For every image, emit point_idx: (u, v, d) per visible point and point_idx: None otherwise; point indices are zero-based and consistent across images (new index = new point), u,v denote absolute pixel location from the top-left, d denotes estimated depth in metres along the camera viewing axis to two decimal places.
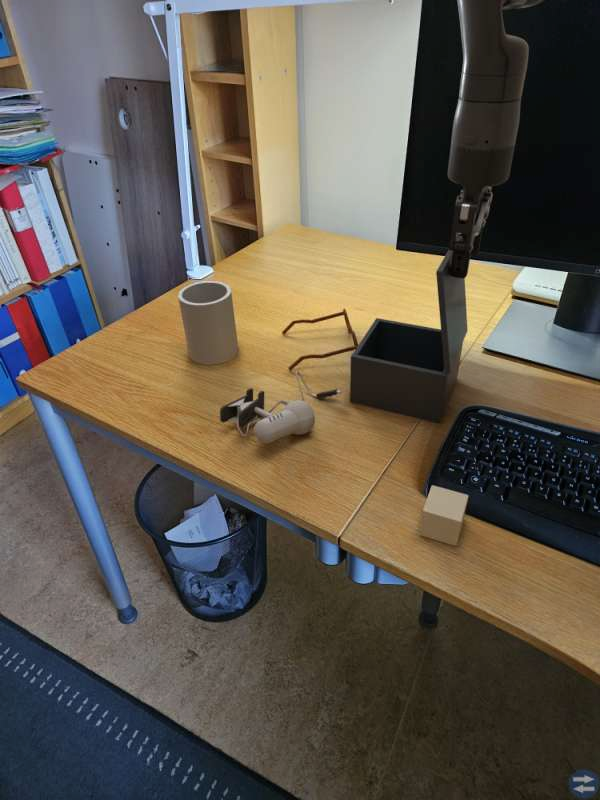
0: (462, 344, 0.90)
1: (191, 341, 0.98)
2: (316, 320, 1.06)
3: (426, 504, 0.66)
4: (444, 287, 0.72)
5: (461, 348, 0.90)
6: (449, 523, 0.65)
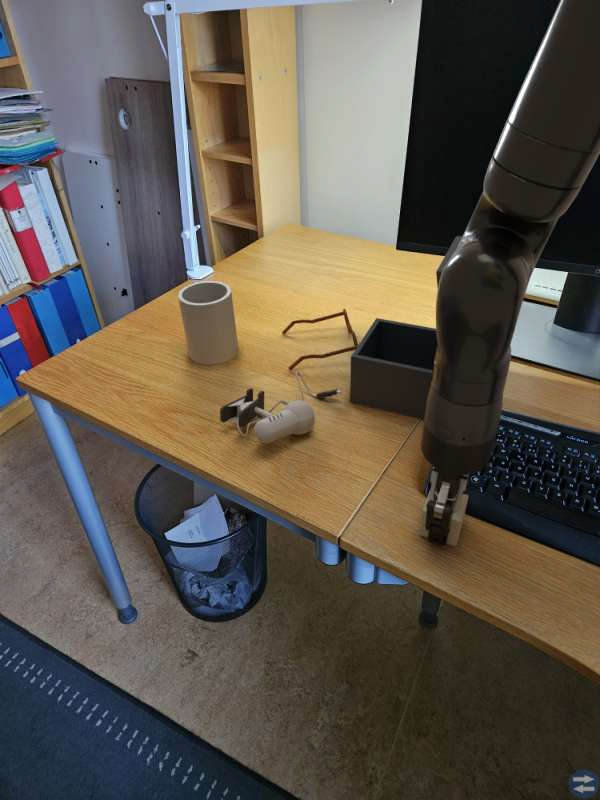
0: None
1: (191, 341, 0.98)
2: (316, 320, 1.06)
3: (426, 504, 0.66)
4: None
5: None
6: None
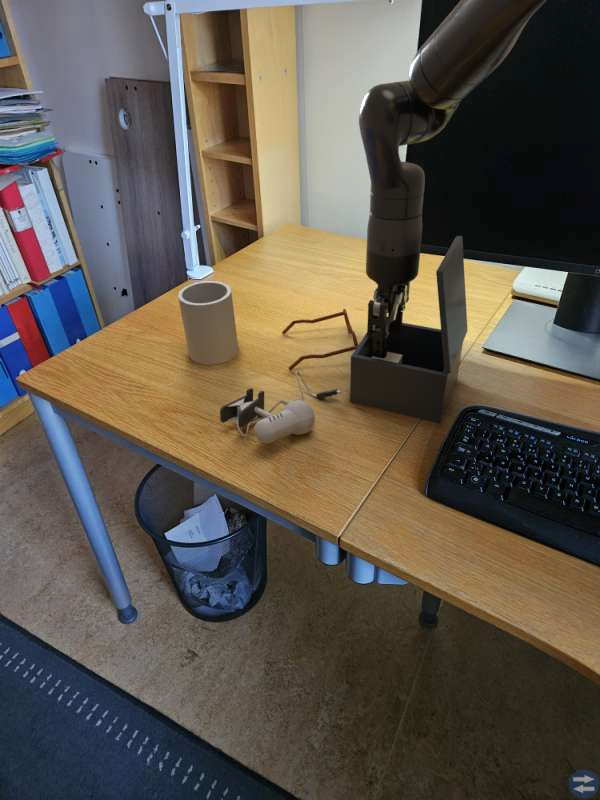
0: (462, 344, 0.90)
1: (191, 341, 0.98)
2: (316, 320, 1.06)
3: None
4: (444, 287, 0.72)
5: (461, 348, 0.90)
6: None
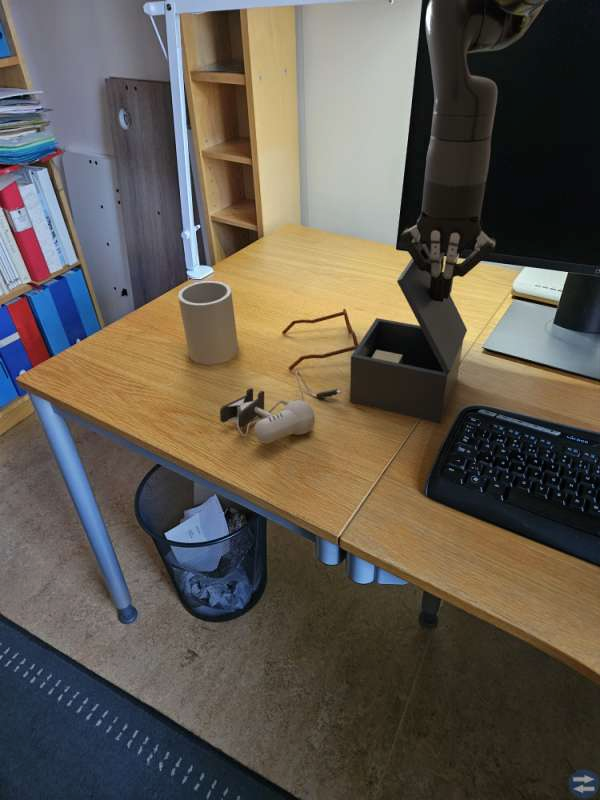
0: (462, 344, 0.90)
1: (191, 341, 0.98)
2: (316, 320, 1.06)
3: None
4: (410, 293, 0.75)
5: (461, 348, 0.90)
6: None
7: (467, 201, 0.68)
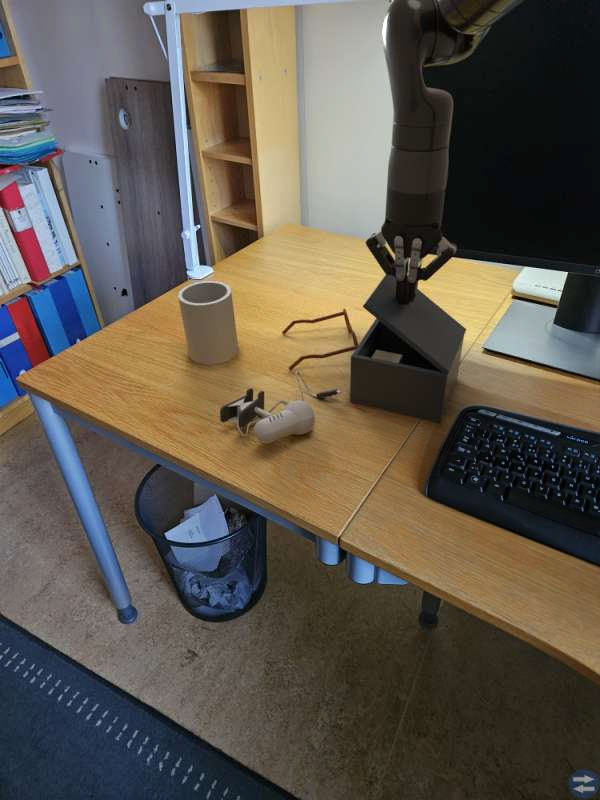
0: (462, 344, 0.90)
1: (191, 341, 0.98)
2: (316, 320, 1.06)
3: None
4: (379, 312, 0.79)
5: (461, 348, 0.90)
6: None
7: (426, 209, 0.71)
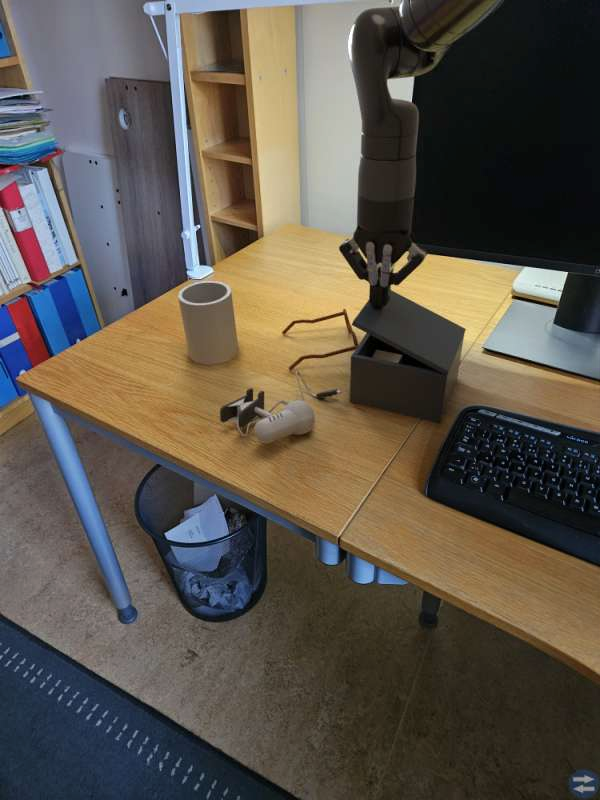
0: (462, 344, 0.90)
1: (191, 341, 0.98)
2: (316, 320, 1.06)
3: None
4: (368, 327, 0.81)
5: (461, 348, 0.90)
6: None
7: (395, 216, 0.73)
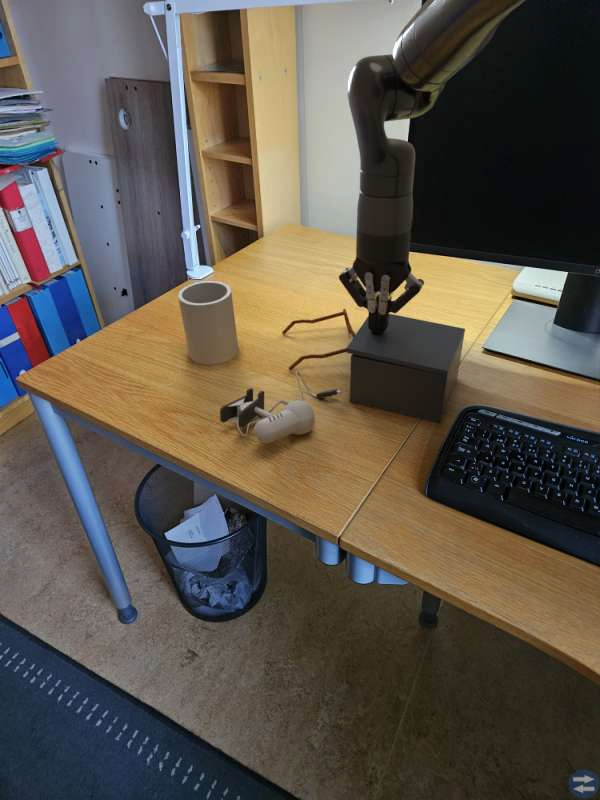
0: (462, 344, 0.90)
1: (191, 341, 0.98)
2: (316, 320, 1.06)
3: None
4: (361, 350, 0.84)
5: (461, 348, 0.90)
6: None
7: (393, 249, 0.76)
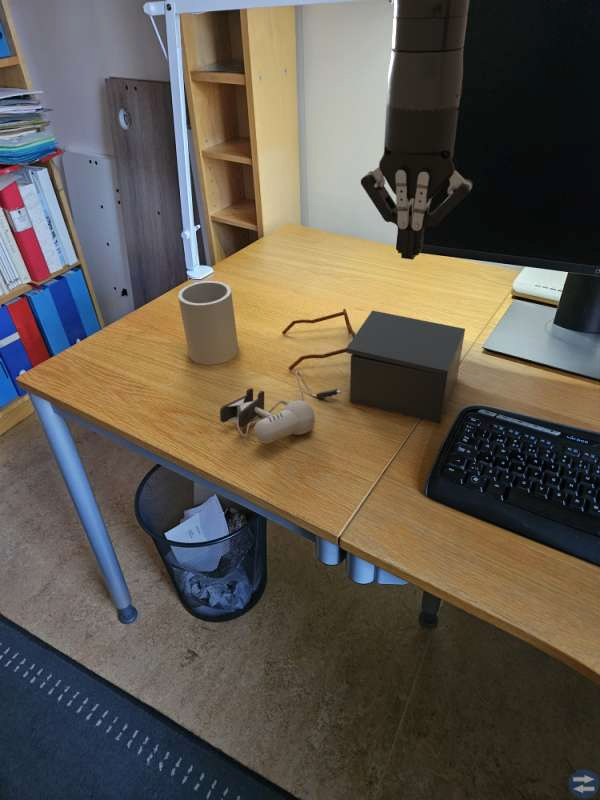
0: (462, 344, 0.90)
1: (191, 341, 0.98)
2: (316, 320, 1.06)
3: None
4: (361, 350, 0.84)
5: (461, 348, 0.90)
6: None
7: (436, 130, 0.57)
